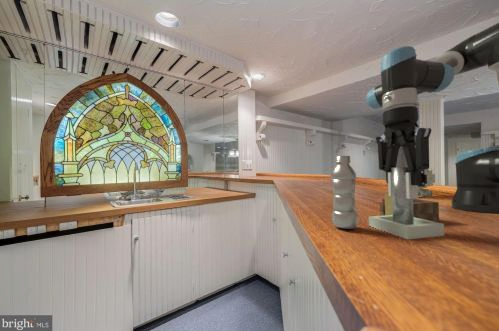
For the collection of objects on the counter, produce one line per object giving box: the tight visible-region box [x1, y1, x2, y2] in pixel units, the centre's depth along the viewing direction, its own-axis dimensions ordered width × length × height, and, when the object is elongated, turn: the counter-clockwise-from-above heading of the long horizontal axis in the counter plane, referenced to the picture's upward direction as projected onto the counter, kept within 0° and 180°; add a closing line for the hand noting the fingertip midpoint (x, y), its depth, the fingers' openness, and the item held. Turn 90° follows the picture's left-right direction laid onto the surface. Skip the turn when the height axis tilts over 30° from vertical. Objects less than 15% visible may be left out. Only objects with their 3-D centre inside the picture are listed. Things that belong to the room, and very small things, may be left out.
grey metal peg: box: [391, 166, 414, 225], centre depth 52 cm, size 4×4×15 cm
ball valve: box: [418, 168, 436, 198], centre depth 112 cm, size 18×8×18 cm, turn 124°
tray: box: [368, 215, 445, 240], centre depth 52 cm, size 11×11×3 cm
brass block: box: [383, 192, 393, 215], centre depth 62 cm, size 2×3×8 cm
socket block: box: [379, 198, 440, 223], centre depth 63 cm, size 13×10×6 cm
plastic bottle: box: [330, 155, 359, 230], centre depth 55 cm, size 6×7×20 cm
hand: (402, 196), depth 52 cm, fingers closed on grey metal peg, 4 cm apart
